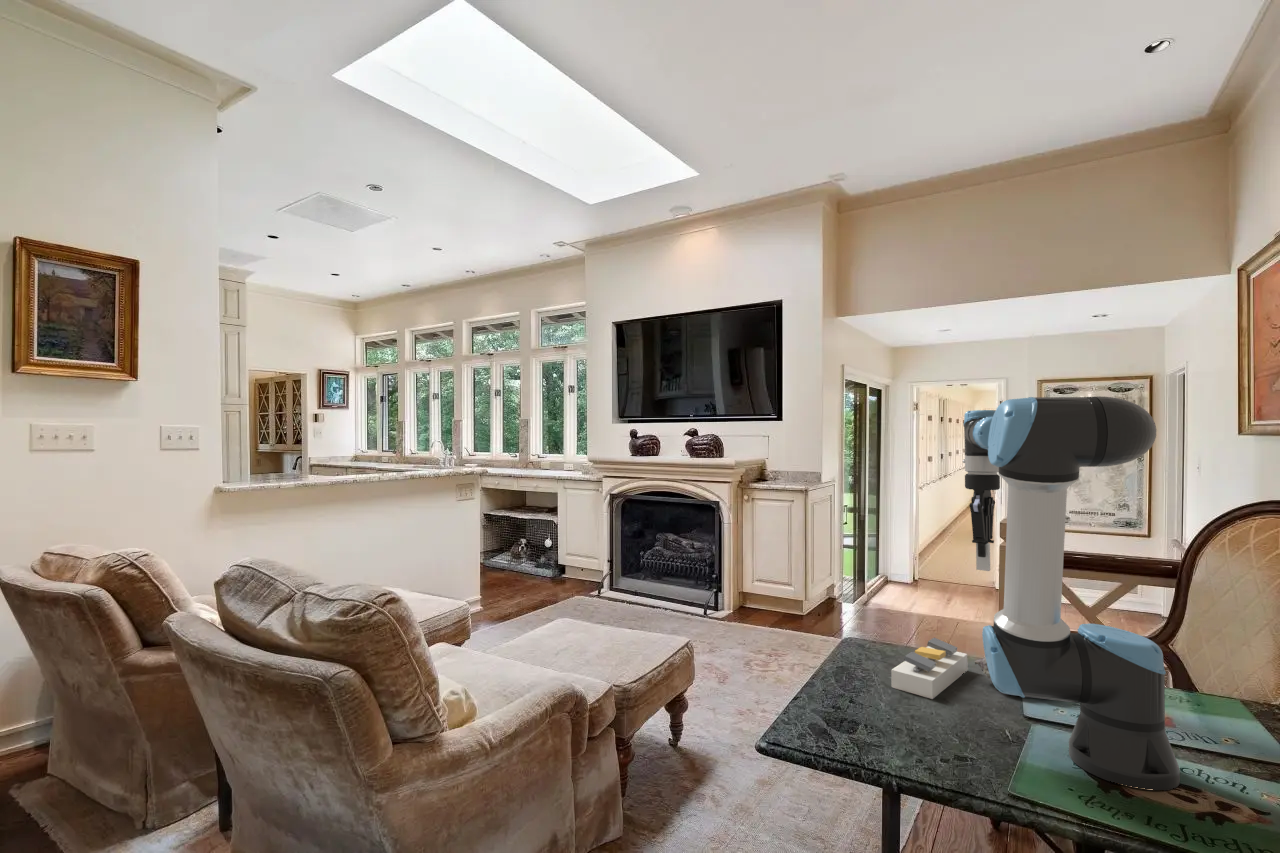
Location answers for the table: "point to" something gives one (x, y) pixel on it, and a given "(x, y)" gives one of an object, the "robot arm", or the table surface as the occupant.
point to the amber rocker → (931, 653)
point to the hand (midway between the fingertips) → (983, 569)
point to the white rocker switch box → (929, 675)
